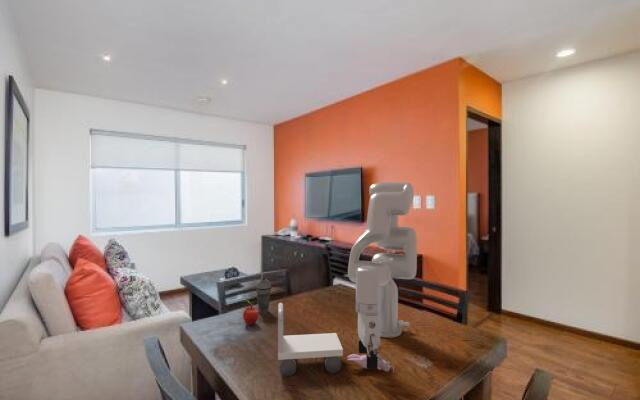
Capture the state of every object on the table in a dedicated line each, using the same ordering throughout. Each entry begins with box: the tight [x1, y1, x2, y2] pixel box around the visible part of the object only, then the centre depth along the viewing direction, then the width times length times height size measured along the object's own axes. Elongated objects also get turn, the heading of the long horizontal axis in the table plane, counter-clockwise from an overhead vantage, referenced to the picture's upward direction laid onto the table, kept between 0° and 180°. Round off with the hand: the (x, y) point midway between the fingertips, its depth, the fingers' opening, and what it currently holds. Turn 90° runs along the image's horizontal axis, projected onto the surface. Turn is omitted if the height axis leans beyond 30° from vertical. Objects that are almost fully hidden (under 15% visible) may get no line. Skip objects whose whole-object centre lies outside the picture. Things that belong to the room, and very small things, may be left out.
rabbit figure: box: [346, 351, 396, 373], centre depth 100 cm, size 6×6×15 cm
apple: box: [242, 299, 260, 326], centre depth 135 cm, size 8×7×10 cm
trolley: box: [277, 302, 344, 377], centre depth 103 cm, size 20×13×18 cm, turn 97°
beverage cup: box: [255, 269, 272, 314], centre depth 149 cm, size 7×7×20 cm
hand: (367, 360), depth 100 cm, fingers open, 9 cm apart
